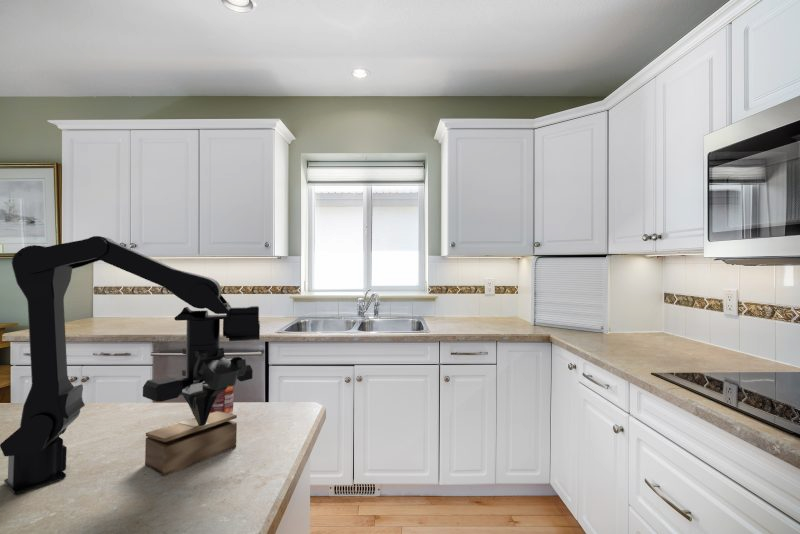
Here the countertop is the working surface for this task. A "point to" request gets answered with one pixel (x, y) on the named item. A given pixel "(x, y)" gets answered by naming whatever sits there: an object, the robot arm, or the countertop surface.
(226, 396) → the pill bottle
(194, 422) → the lid
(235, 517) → the countertop surface
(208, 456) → the box
